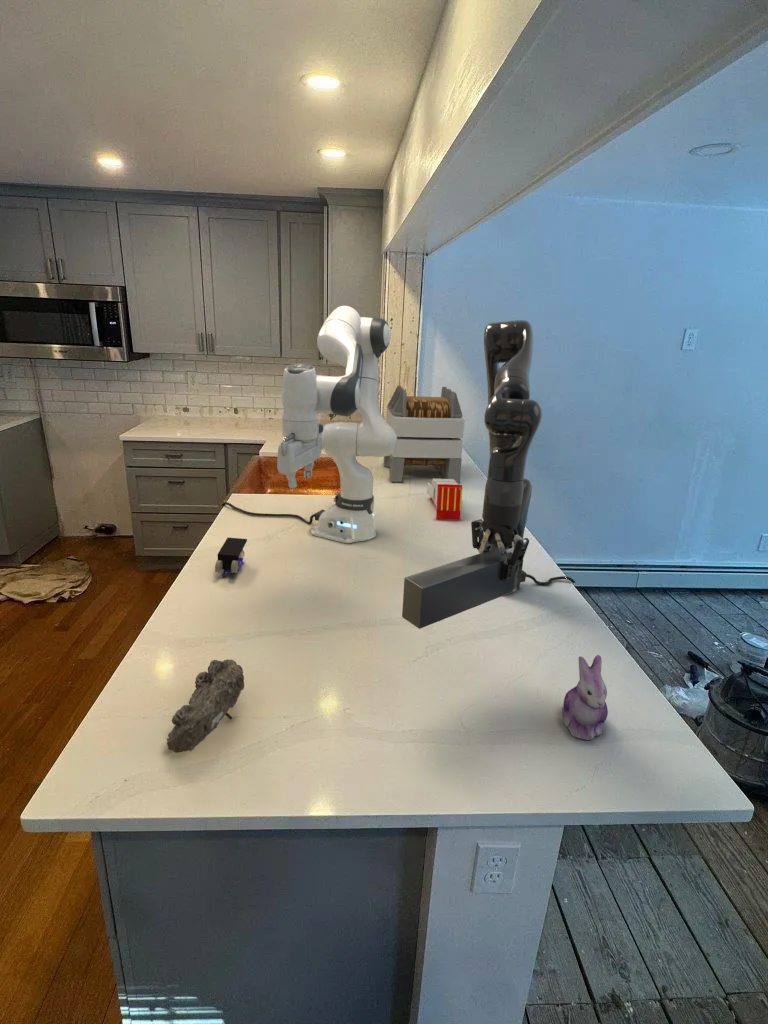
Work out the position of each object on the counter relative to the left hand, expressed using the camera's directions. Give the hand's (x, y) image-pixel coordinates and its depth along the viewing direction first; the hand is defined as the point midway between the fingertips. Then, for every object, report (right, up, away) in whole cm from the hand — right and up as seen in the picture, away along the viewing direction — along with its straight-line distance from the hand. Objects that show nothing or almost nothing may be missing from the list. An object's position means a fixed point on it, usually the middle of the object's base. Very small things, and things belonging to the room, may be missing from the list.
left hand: (300, 482), depth 148 cm
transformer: (+39, +11, +127) cm, 133 cm away
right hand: (+45, -21, -29) cm, 57 cm away
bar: (+37, -27, -33) cm, 56 cm away
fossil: (-11, -47, -40) cm, 63 cm away
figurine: (+61, -49, -38) cm, 87 cm away
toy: (+46, -6, +79) cm, 92 cm away
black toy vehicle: (-23, -25, +19) cm, 39 cm away
